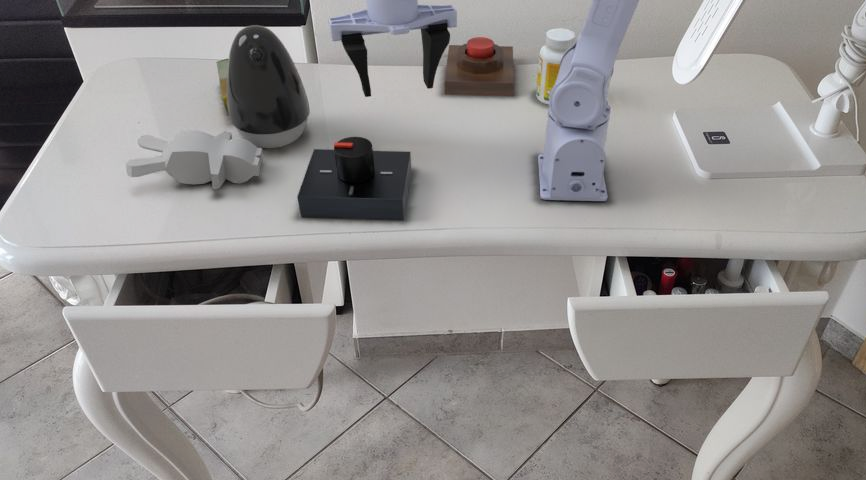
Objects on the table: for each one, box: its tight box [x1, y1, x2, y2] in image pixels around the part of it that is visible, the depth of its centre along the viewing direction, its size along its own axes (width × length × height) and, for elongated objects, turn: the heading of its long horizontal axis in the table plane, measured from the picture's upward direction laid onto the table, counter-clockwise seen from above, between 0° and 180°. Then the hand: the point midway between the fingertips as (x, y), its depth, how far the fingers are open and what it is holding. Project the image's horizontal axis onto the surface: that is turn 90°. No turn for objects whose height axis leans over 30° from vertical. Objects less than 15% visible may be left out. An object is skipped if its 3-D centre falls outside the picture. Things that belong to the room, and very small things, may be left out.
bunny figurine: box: [125, 129, 264, 190], centre depth 87 cm, size 10×5×15 cm
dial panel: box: [296, 148, 413, 221], centre depth 85 cm, size 10×12×3 cm
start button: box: [466, 36, 495, 59], centre depth 106 cm, size 4×4×2 cm
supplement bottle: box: [535, 27, 576, 106], centre depth 101 cm, size 5×5×10 cm
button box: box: [444, 43, 515, 97], centre depth 108 cm, size 12×10×4 cm
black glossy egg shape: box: [227, 24, 311, 149], centre depth 90 cm, size 10×10×15 cm
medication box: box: [216, 57, 229, 116], centre depth 101 cm, size 12×3×4 cm, turn 19°
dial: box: [333, 136, 375, 183], centre depth 83 cm, size 4×4×4 cm
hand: (397, 88), depth 87 cm, fingers open, 7 cm apart
